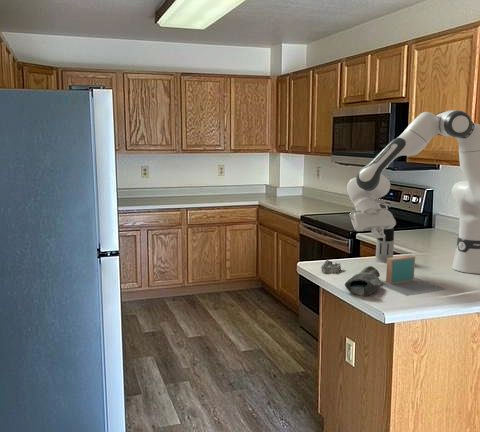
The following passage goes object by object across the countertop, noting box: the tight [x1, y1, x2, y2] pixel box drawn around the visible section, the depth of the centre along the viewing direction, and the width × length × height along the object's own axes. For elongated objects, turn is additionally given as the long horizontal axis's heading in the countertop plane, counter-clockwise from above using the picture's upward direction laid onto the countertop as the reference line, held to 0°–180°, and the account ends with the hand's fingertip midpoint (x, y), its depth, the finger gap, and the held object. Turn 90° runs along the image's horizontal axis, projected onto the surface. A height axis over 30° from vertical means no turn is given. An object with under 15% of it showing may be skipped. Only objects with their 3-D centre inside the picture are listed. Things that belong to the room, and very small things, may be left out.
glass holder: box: [374, 228, 395, 264], centre depth 236 cm, size 9×14×15 cm, turn 160°
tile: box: [385, 254, 416, 284], centre depth 202 cm, size 12×3×10 cm, turn 114°
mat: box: [380, 276, 448, 297], centre depth 198 cm, size 20×18×1 cm
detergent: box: [344, 265, 382, 297], centre depth 196 cm, size 13×7×25 cm
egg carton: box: [320, 259, 342, 275], centre depth 220 cm, size 10×7×4 cm
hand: (381, 237), depth 212 cm, fingers closed
